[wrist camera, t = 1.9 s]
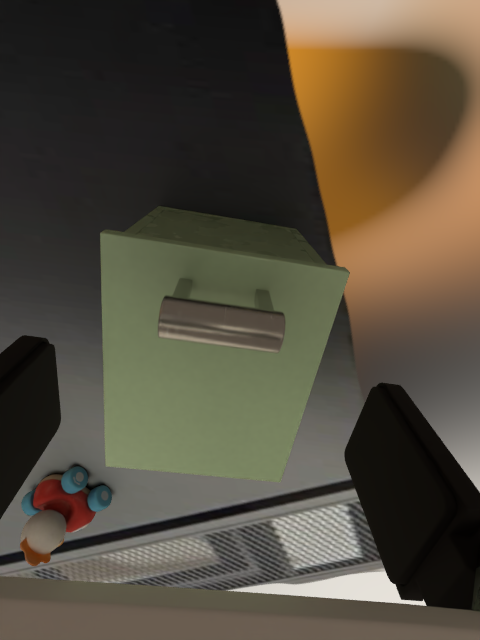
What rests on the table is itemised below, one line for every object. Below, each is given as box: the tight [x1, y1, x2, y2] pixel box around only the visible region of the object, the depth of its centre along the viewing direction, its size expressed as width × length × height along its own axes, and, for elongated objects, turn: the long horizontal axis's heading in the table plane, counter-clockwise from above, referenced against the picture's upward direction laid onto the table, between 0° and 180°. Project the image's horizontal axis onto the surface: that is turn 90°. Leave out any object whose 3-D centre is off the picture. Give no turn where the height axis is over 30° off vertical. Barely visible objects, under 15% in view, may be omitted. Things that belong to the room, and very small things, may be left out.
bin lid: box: [100, 230, 350, 482], centre depth 18 cm, size 16×13×6 cm
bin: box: [124, 206, 327, 265], centre depth 27 cm, size 16×13×14 cm
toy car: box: [20, 466, 112, 566], centre depth 41 cm, size 9×9×10 cm
